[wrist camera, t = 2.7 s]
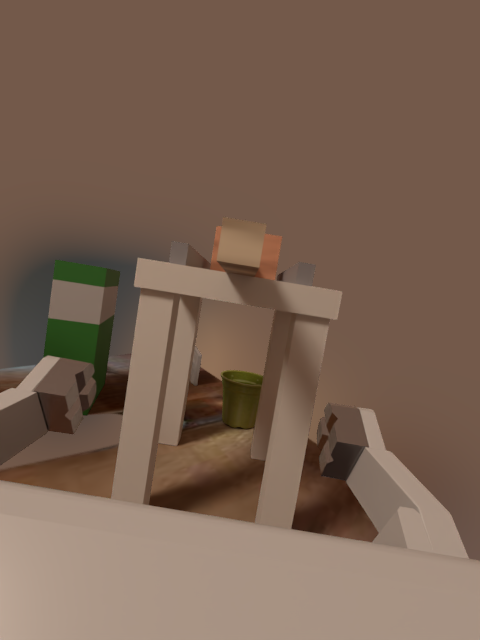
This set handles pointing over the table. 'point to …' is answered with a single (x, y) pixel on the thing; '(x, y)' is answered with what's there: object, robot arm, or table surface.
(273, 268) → the mallet
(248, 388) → the plant pot
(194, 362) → the cassette
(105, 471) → the table surface
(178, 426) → the stand
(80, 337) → the hardback book
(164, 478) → the table surface
